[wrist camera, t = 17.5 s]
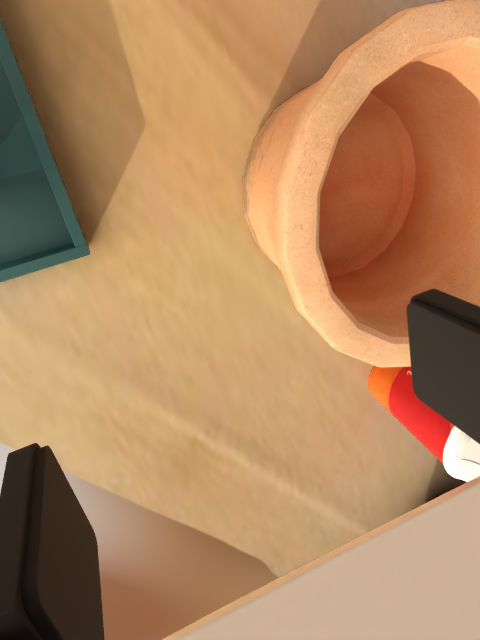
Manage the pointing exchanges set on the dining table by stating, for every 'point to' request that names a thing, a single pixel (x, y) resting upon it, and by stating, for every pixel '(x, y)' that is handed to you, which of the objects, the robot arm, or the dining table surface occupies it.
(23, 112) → the tray
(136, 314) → the dining table surface
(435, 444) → the paper cup
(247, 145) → the dining table surface
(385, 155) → the pottery
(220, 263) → the dining table surface
